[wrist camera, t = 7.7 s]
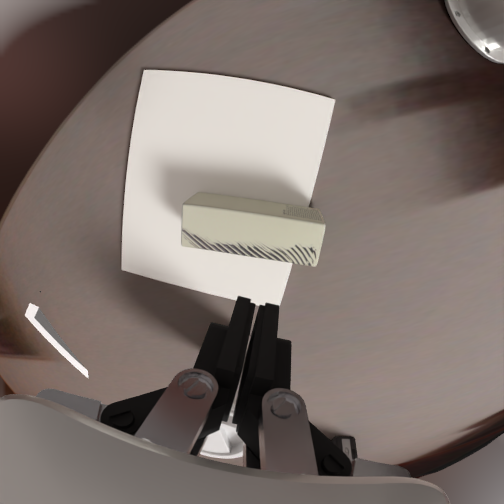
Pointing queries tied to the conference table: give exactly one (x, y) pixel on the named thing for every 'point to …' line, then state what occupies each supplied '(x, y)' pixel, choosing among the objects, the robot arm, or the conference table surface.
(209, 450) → the coffee cup
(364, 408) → the conference table surface
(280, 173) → the mat
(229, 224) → the box
